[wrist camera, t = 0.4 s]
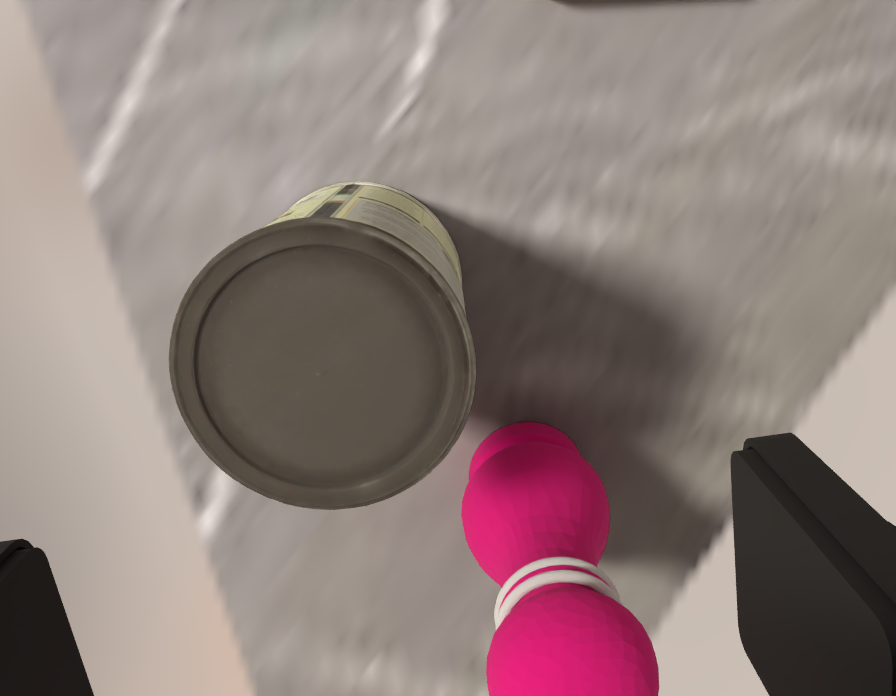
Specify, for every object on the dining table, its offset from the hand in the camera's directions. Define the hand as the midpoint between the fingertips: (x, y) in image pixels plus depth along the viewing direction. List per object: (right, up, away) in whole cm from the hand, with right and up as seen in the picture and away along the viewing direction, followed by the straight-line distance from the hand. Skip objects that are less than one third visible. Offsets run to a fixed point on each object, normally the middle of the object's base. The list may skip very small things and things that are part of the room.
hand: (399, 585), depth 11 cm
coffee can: (-4, +6, +29) cm, 30 cm away
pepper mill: (+5, -4, +33) cm, 33 cm away
